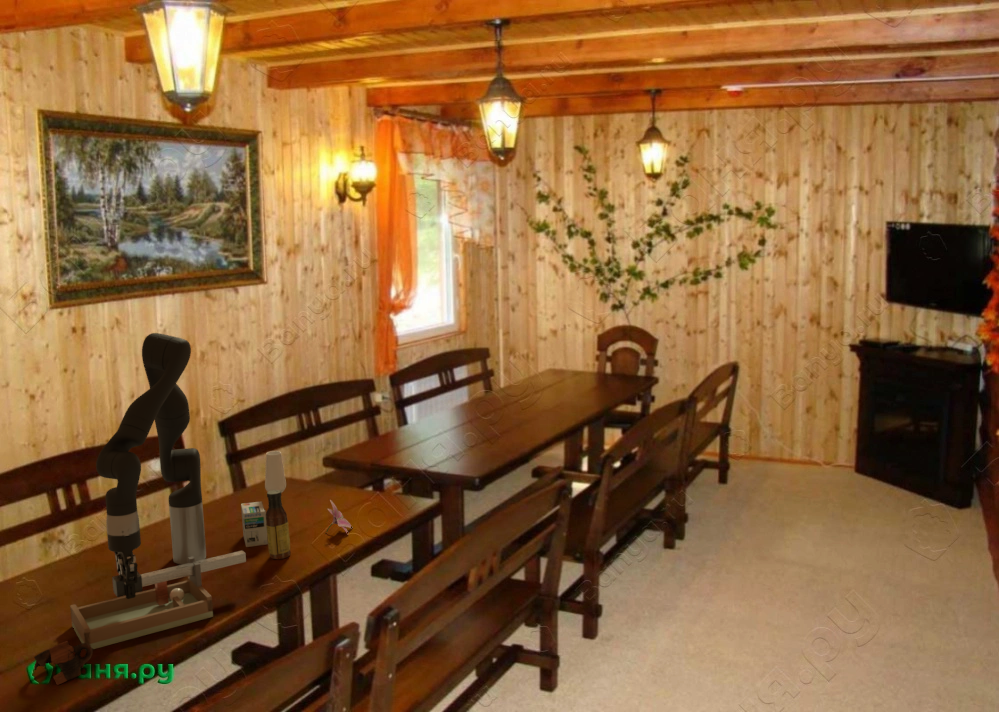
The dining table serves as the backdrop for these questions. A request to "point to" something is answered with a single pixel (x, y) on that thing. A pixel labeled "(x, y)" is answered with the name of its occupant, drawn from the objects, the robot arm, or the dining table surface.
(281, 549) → the sauce bottle
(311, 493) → the dining table surface
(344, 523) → the lily
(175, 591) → the ball
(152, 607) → the wooden tray
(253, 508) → the light bulb box
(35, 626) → the dining table surface
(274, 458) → the champagne flute
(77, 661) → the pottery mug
